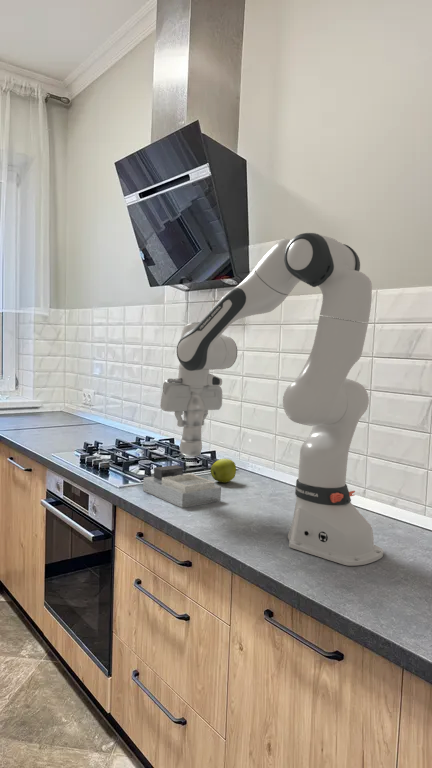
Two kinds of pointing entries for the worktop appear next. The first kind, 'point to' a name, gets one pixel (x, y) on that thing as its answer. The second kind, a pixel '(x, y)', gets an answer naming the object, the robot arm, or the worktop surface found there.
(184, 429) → the plastic bottle
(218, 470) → the apple
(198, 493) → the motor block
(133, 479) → the worktop surface
